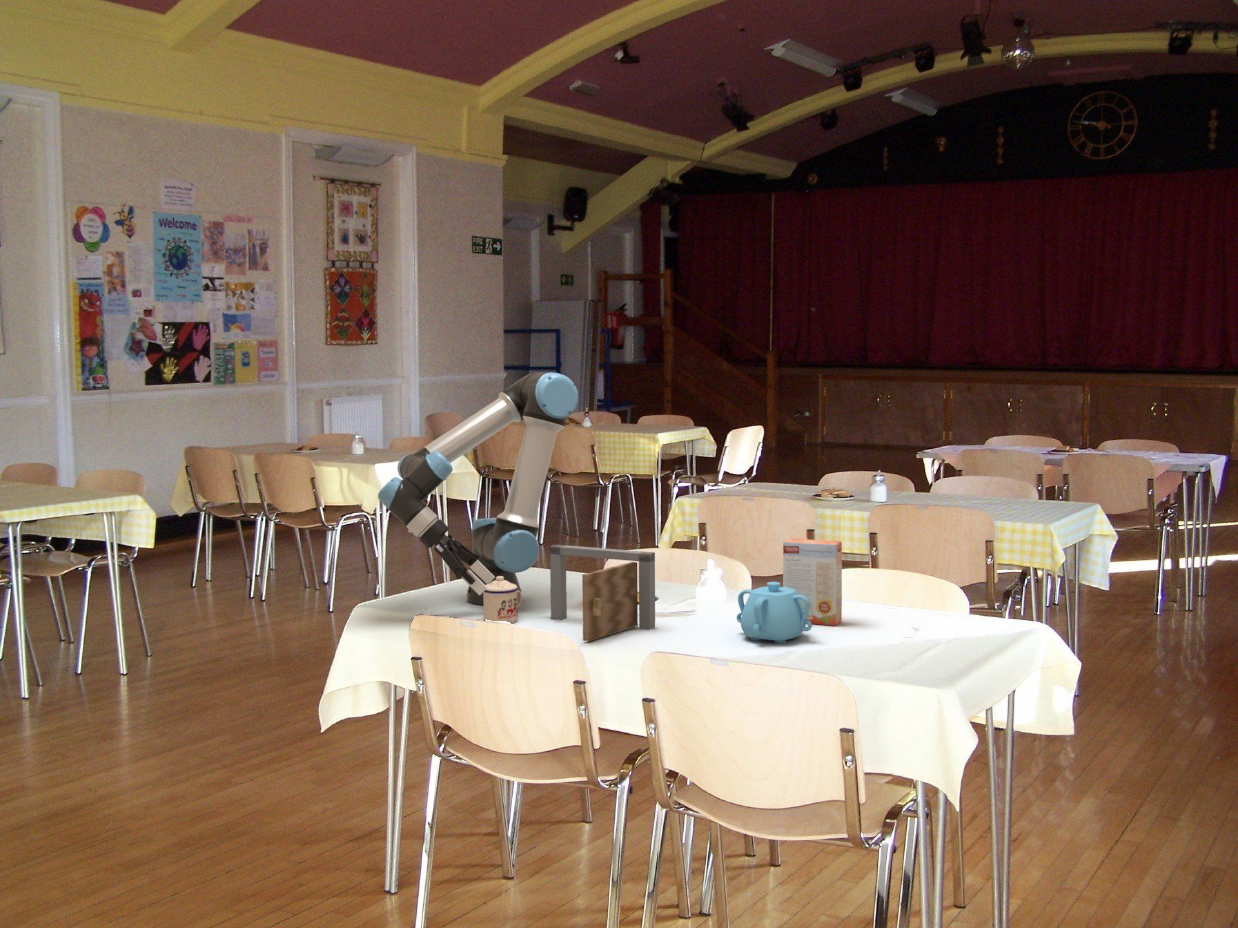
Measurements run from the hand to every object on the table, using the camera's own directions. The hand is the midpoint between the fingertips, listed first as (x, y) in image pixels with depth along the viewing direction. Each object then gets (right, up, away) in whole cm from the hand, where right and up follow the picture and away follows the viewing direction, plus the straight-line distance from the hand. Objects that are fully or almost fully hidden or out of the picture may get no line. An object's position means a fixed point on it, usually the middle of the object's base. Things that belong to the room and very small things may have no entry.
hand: (487, 586), depth 329 cm
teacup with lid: (+4, -9, +2) cm, 10 cm away
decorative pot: (+71, -11, -19) cm, 74 cm away
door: (+32, -10, -16) cm, 37 cm away
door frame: (+29, -9, -2) cm, 31 cm away
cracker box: (+83, -9, -3) cm, 83 cm away
